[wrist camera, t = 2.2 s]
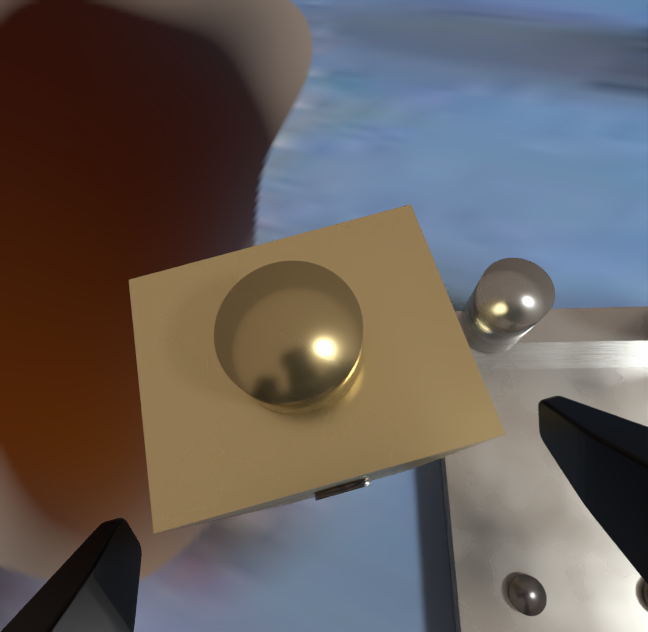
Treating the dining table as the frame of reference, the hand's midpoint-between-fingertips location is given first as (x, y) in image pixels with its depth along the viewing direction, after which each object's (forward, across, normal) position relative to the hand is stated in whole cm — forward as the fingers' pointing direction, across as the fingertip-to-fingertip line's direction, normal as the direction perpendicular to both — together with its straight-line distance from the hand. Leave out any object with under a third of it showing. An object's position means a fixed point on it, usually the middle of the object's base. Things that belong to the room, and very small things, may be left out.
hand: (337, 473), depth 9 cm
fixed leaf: (+4, -8, +8) cm, 12 cm away
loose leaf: (+8, 0, +5) cm, 9 cm away
